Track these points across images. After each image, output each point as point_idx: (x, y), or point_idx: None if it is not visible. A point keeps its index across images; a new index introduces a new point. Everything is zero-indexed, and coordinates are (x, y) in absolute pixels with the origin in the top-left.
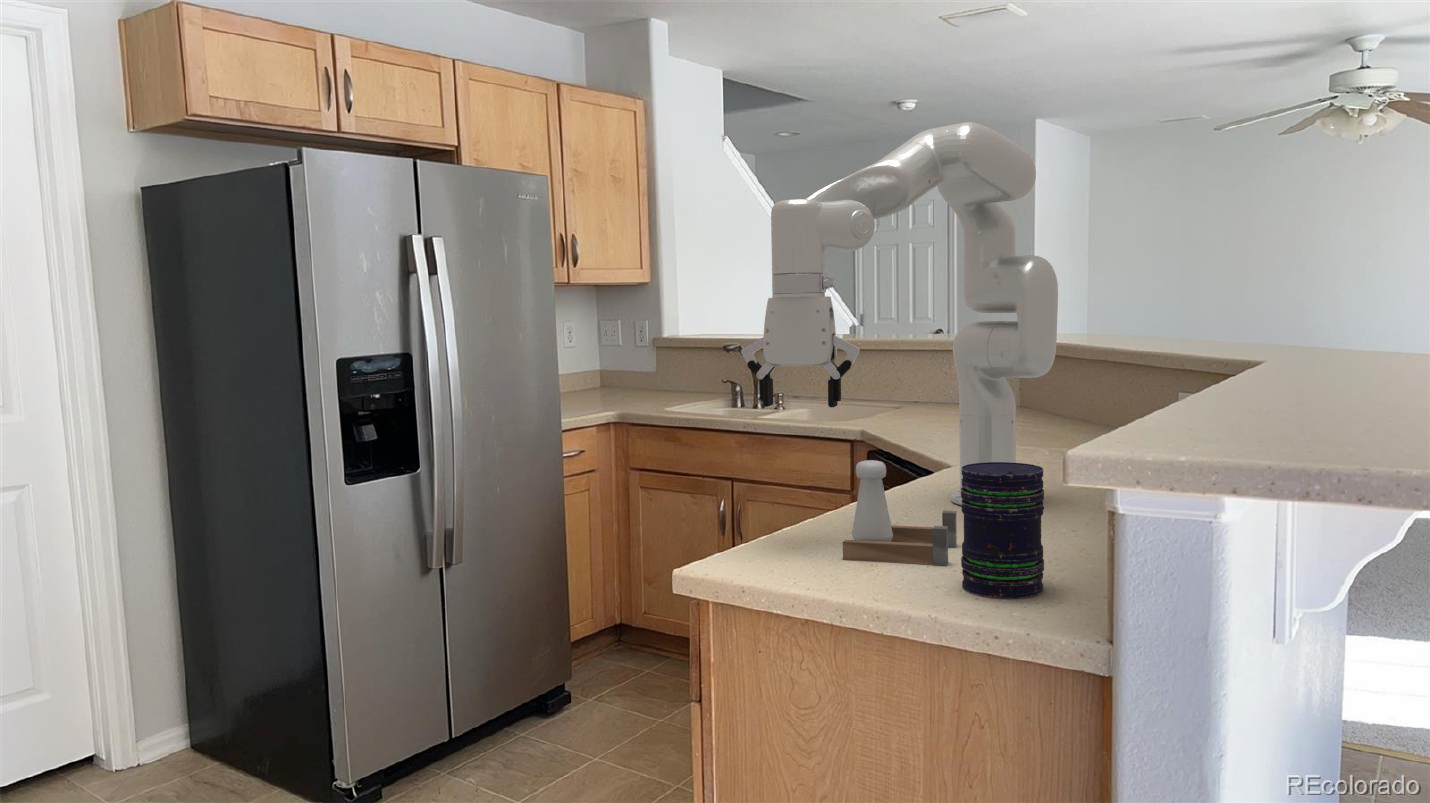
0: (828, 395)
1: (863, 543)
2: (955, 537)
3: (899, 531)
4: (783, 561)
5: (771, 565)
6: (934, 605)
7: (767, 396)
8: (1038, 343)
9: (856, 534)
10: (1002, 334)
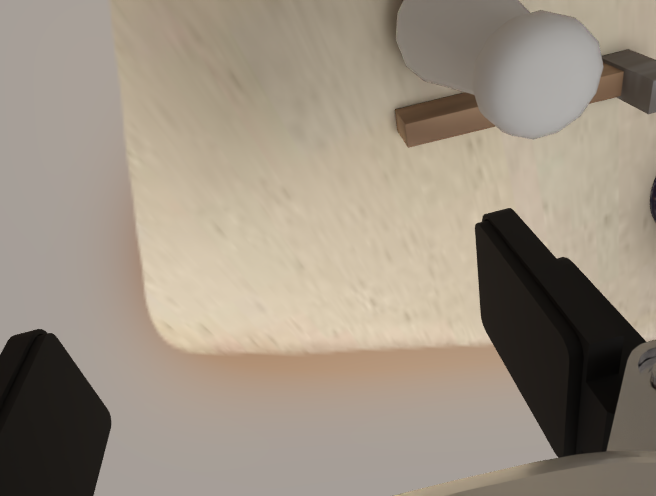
0: (512, 372)
1: (457, 134)
2: None
3: None
4: (284, 200)
5: (278, 236)
6: None
7: (96, 470)
8: None
9: (423, 79)
10: None
